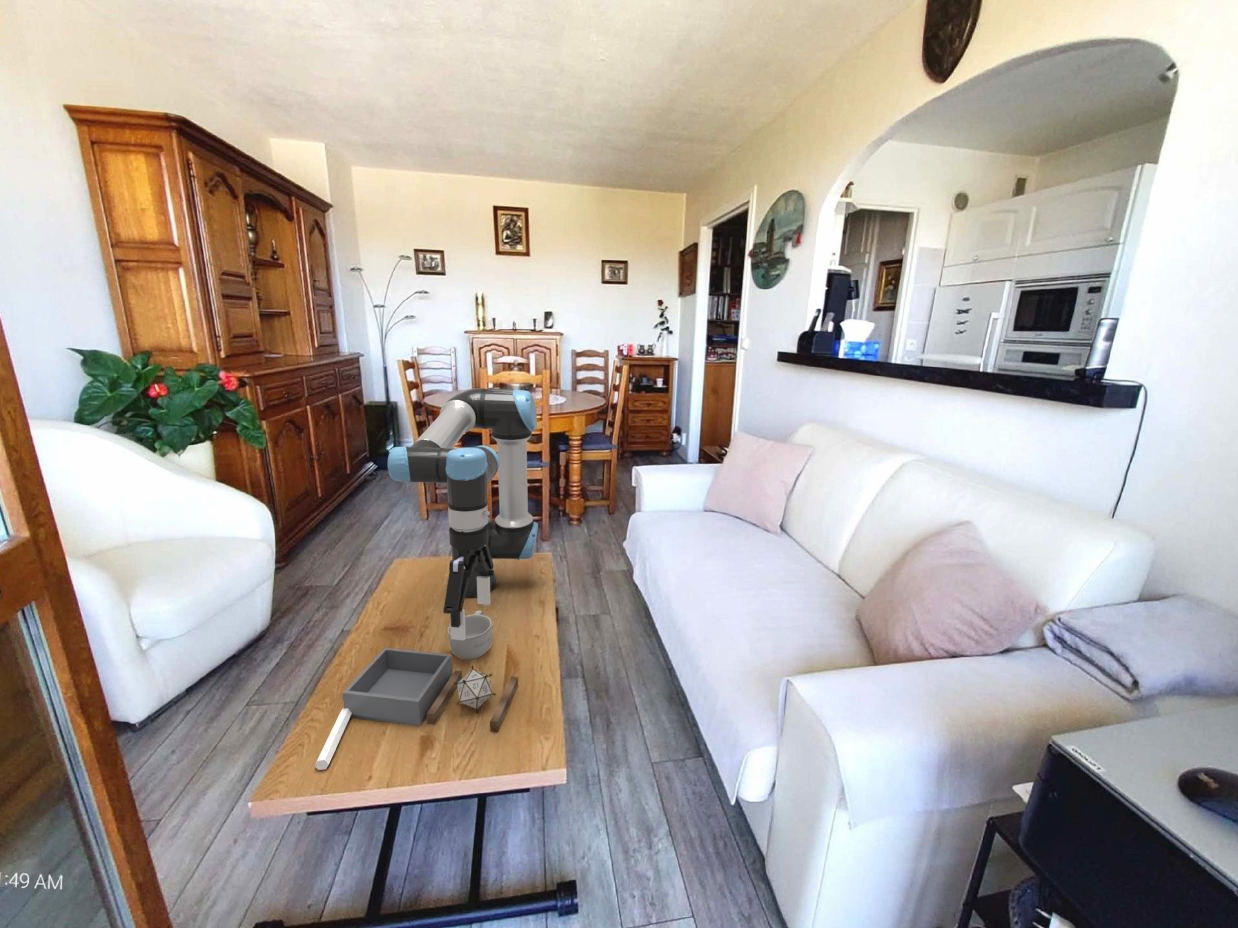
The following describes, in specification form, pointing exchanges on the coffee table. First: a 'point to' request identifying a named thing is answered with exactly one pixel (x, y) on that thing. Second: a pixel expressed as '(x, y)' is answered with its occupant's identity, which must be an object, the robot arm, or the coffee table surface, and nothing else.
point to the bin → (398, 686)
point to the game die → (474, 689)
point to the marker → (333, 739)
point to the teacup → (473, 637)
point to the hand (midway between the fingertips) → (472, 620)
